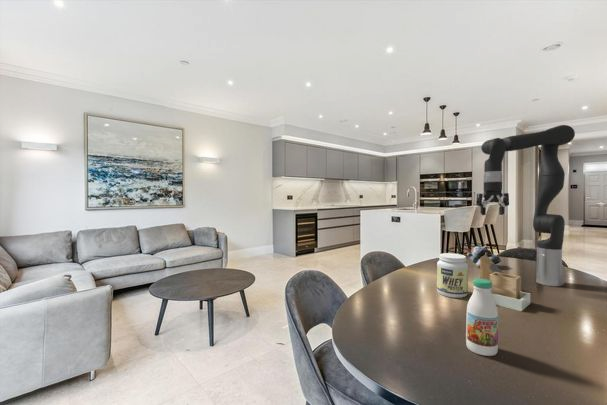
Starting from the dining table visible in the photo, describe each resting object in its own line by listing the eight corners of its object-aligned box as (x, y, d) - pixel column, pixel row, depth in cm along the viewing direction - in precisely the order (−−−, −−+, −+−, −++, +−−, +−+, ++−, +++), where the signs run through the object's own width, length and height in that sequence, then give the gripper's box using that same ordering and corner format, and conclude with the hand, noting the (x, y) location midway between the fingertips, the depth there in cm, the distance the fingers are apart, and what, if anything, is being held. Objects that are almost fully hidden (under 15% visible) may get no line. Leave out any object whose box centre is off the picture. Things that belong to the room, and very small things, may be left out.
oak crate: (520, 301, 118) (520, 276, 117) (515, 305, 114) (516, 279, 113) (494, 295, 125) (494, 271, 124) (489, 298, 121) (489, 274, 120)
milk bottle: (460, 343, 88) (461, 276, 87) (484, 341, 89) (485, 275, 88) (477, 357, 80) (478, 285, 79) (504, 356, 81) (505, 284, 80)
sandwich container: (521, 298, 123) (521, 263, 122) (479, 290, 134) (480, 257, 133) (525, 293, 129) (525, 259, 128) (485, 285, 140) (485, 254, 139)
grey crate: (530, 303, 117) (530, 293, 117) (521, 311, 110) (521, 300, 110) (489, 293, 129) (489, 284, 128) (478, 300, 121) (478, 290, 121)
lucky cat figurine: (483, 270, 165) (470, 247, 169) (471, 273, 176) (460, 251, 181) (506, 261, 166) (493, 238, 171) (493, 265, 178) (481, 243, 182)
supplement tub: (437, 296, 126) (438, 257, 125) (435, 287, 137) (435, 251, 137) (470, 300, 122) (470, 259, 121) (465, 290, 133) (465, 253, 132)
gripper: (502, 181, 145) (501, 214, 146) (473, 181, 145) (473, 214, 146) (513, 180, 137) (512, 215, 138) (482, 181, 137) (482, 215, 138)
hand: (492, 214), depth 142 cm, fingers open, 8 cm apart
